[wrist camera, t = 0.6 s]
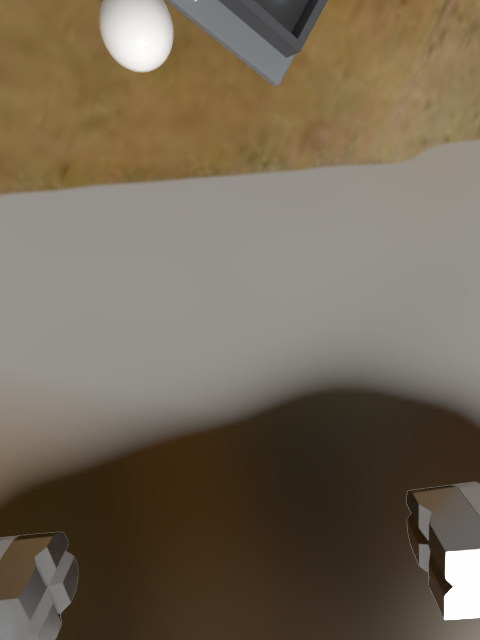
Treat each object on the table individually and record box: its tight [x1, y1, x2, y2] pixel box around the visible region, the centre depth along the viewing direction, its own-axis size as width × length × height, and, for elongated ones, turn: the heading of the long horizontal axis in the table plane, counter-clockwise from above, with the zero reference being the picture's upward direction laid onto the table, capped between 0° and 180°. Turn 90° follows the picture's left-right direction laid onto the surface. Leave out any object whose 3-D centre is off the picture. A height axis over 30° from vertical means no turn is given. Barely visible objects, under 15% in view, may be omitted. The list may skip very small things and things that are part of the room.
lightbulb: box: [99, 0, 174, 72], centre depth 35 cm, size 6×6×11 cm
